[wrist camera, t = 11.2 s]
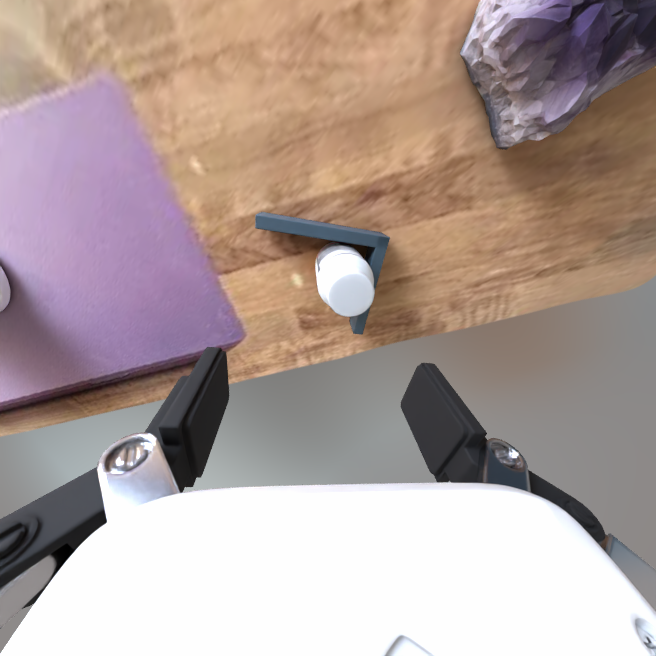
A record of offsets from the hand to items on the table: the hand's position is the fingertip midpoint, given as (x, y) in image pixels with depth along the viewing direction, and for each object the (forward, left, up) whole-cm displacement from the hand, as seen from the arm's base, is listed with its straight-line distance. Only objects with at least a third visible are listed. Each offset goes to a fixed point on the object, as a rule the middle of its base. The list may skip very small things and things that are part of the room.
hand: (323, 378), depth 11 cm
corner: (+1, -1, -19) cm, 19 cm away
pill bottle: (+3, +1, -19) cm, 19 cm away
